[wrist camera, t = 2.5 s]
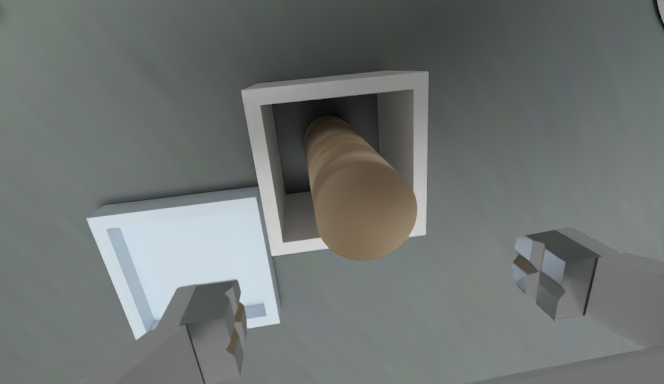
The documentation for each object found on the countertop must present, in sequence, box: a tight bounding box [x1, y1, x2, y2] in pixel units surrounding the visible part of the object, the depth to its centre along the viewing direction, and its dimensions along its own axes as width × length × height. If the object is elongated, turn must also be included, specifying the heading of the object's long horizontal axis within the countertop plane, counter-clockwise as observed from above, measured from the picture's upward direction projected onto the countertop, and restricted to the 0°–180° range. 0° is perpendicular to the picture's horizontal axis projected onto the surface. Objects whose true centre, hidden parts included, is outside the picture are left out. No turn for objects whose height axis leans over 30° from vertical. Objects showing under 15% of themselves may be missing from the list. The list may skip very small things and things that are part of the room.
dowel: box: [304, 115, 417, 261], centre depth 19 cm, size 4×4×14 cm
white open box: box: [241, 71, 429, 256], centre depth 22 cm, size 10×10×8 cm
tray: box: [87, 186, 281, 340], centre depth 27 cm, size 12×12×2 cm
